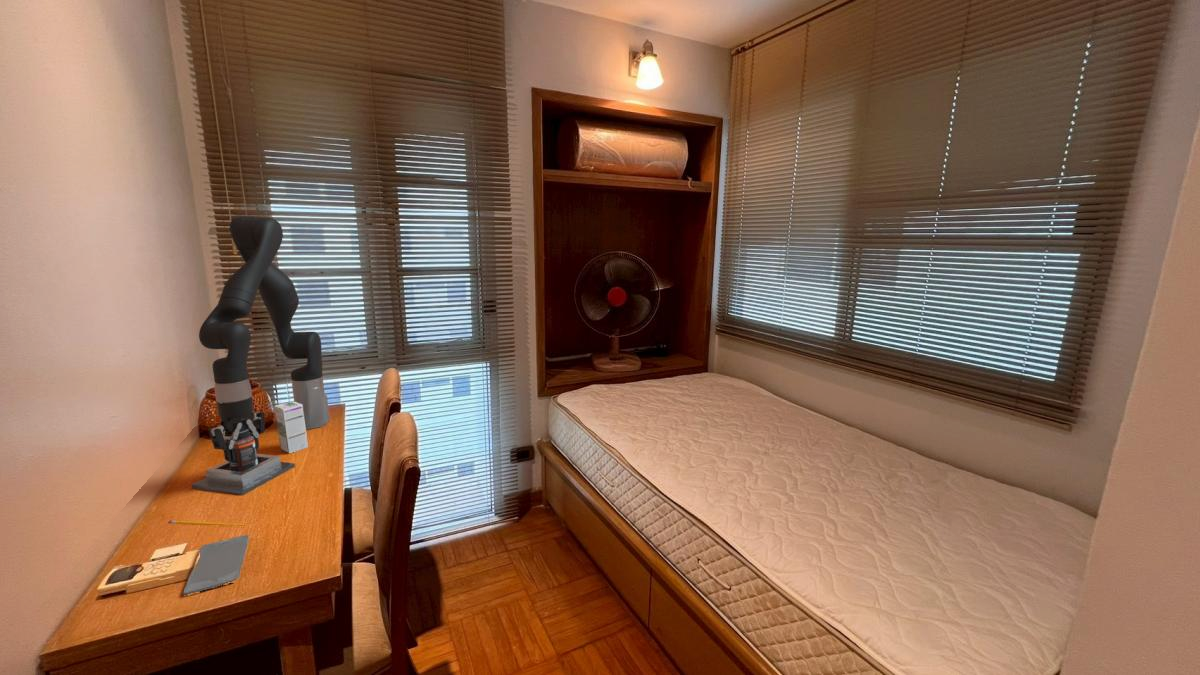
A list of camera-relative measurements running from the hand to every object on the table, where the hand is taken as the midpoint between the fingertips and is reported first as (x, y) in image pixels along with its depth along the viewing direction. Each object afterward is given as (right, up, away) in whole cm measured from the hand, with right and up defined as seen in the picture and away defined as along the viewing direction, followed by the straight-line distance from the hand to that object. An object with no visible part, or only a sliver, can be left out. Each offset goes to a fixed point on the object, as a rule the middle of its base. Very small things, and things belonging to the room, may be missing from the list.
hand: (242, 455), depth 127 cm
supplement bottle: (0, -4, +1) cm, 4 cm away
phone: (+21, -14, -34) cm, 42 cm away
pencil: (+8, -11, -20) cm, 24 cm away
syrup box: (+2, -3, +19) cm, 19 cm away
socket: (0, -6, +1) cm, 6 cm away
